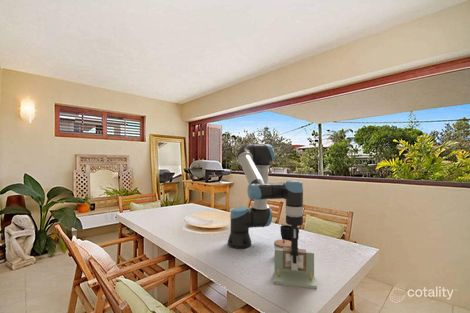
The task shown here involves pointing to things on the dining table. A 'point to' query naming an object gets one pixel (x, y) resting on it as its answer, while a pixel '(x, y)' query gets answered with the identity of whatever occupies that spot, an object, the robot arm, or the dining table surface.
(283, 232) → the mug
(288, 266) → the brown tapered block
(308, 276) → the ledge
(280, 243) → the lidded jar
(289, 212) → the robot arm
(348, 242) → the dining table surface
